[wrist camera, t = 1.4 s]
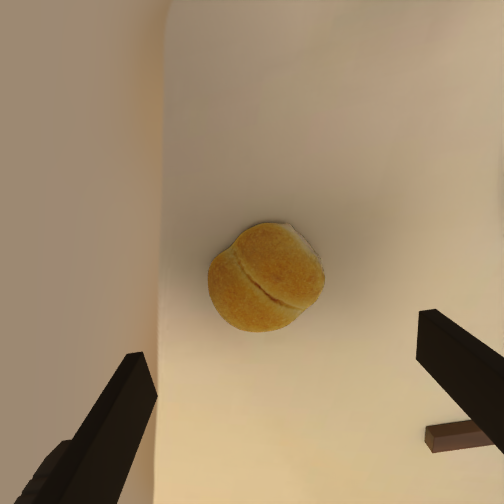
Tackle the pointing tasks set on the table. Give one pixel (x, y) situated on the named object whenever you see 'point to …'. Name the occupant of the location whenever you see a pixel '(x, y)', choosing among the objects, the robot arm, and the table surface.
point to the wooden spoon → (455, 436)
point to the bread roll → (265, 278)
